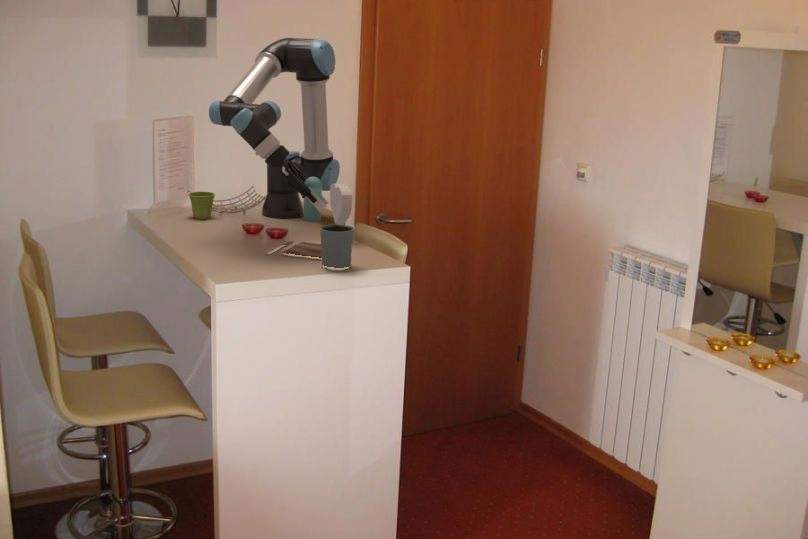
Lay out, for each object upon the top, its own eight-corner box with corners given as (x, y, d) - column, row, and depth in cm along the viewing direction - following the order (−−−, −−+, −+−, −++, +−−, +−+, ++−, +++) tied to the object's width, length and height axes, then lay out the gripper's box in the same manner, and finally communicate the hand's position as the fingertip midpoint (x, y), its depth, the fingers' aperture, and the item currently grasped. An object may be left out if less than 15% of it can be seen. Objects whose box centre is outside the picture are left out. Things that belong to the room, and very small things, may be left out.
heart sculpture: (353, 243, 307) (354, 189, 302) (338, 243, 306) (339, 189, 301) (340, 232, 321) (342, 181, 316) (326, 232, 320) (328, 181, 315)
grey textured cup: (325, 272, 271) (326, 232, 268) (314, 263, 280) (315, 224, 277) (357, 270, 275) (359, 230, 272) (346, 261, 284) (347, 223, 281)
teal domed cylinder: (307, 217, 293) (308, 174, 290) (323, 219, 292) (324, 176, 288) (300, 221, 288) (301, 177, 285) (317, 222, 287) (318, 178, 283)
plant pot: (212, 221, 329) (212, 196, 327) (185, 219, 329) (185, 195, 327) (217, 215, 338) (217, 192, 336) (192, 214, 338) (191, 190, 336)
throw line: (289, 241, 305) (289, 240, 305) (293, 242, 304) (293, 241, 304) (265, 254, 288) (265, 253, 288) (270, 254, 288) (270, 253, 288)
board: (301, 244, 303) (301, 241, 302) (341, 248, 299) (341, 246, 299) (281, 255, 288) (281, 252, 287) (323, 260, 284) (323, 257, 284)
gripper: (268, 156, 295) (319, 209, 299) (258, 164, 277) (312, 221, 281) (285, 140, 293) (336, 194, 297) (276, 147, 275) (330, 205, 279)
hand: (324, 207), depth 289 cm, fingers closed on teal domed cylinder, 5 cm apart
